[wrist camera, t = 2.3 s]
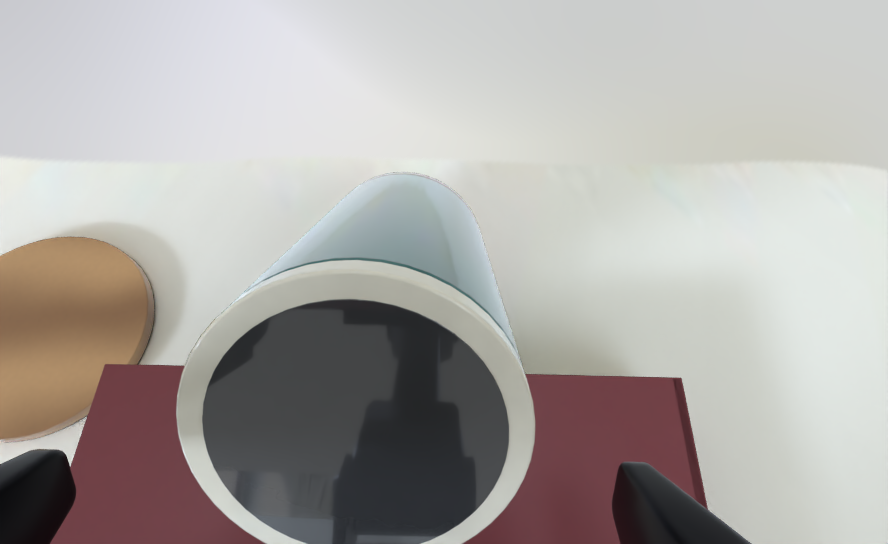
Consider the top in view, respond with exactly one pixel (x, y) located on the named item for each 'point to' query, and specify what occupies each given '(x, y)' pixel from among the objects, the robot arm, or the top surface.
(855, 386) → the top surface
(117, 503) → the book
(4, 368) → the coaster
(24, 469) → the robot arm
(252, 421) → the pencil cup
